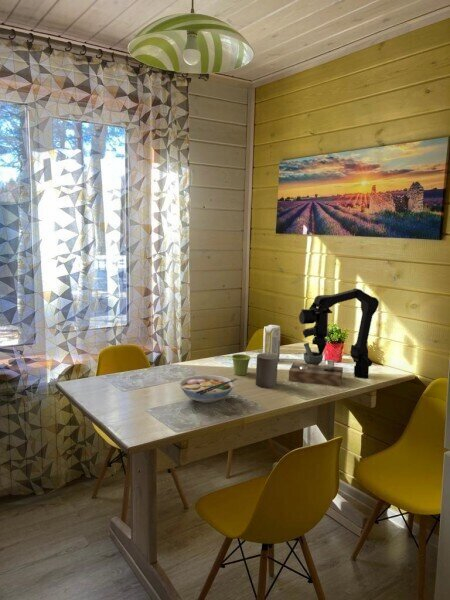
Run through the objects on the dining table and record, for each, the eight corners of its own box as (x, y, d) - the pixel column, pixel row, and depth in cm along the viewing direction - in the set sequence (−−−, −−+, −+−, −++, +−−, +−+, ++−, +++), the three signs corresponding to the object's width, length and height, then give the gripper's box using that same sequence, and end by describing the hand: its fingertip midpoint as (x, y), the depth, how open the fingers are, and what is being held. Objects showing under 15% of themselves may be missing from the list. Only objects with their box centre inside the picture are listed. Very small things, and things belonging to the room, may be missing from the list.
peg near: (333, 370, 240) (334, 360, 240) (333, 372, 237) (333, 362, 236) (325, 369, 242) (325, 359, 241) (324, 371, 238) (325, 361, 237)
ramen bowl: (205, 386, 227) (206, 369, 225) (246, 399, 212) (247, 380, 211) (165, 401, 207) (165, 382, 206) (207, 415, 193) (207, 395, 192)
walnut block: (342, 377, 245) (342, 367, 244) (340, 386, 232) (341, 375, 231) (292, 372, 251) (293, 362, 250) (288, 380, 238) (289, 370, 237)
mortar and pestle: (326, 367, 260) (327, 345, 258) (313, 371, 254) (315, 347, 252) (309, 362, 269) (310, 340, 267) (297, 365, 263) (298, 343, 261)
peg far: (307, 376, 244) (308, 366, 243) (307, 378, 240) (307, 368, 240) (299, 375, 245) (300, 365, 244) (298, 377, 241) (299, 367, 241)
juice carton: (280, 360, 273) (282, 325, 270) (273, 363, 265) (275, 328, 262) (268, 357, 276) (269, 323, 273) (260, 361, 269) (262, 326, 266)
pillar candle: (252, 385, 229) (253, 353, 227) (260, 379, 238) (262, 349, 236) (271, 389, 225) (273, 357, 223) (280, 383, 234) (281, 352, 231)
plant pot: (250, 371, 251) (251, 354, 250) (249, 377, 242) (250, 359, 240) (231, 370, 252) (232, 353, 250) (230, 376, 243) (230, 358, 241)
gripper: (306, 317, 248) (306, 348, 250) (301, 325, 230) (300, 359, 233) (329, 319, 245) (328, 350, 247) (326, 327, 227) (325, 360, 230)
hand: (320, 354), depth 239 cm, fingers closed
